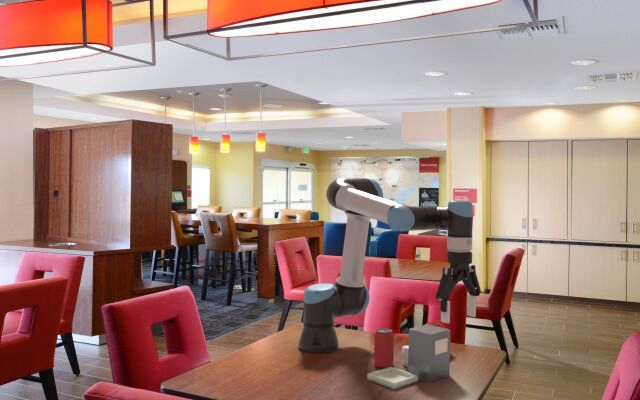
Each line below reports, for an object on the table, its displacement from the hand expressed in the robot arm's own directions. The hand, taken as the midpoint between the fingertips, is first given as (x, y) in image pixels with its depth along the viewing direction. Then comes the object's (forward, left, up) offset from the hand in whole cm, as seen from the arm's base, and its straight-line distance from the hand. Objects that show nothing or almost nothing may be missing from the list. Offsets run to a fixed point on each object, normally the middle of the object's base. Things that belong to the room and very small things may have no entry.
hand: (458, 319), depth 174 cm
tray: (-15, -13, -20) cm, 28 cm away
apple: (-27, +24, -21) cm, 41 cm away
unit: (-11, 0, -20) cm, 23 cm away
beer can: (-27, -4, -21) cm, 34 cm away
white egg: (-22, +4, -20) cm, 30 cm away
